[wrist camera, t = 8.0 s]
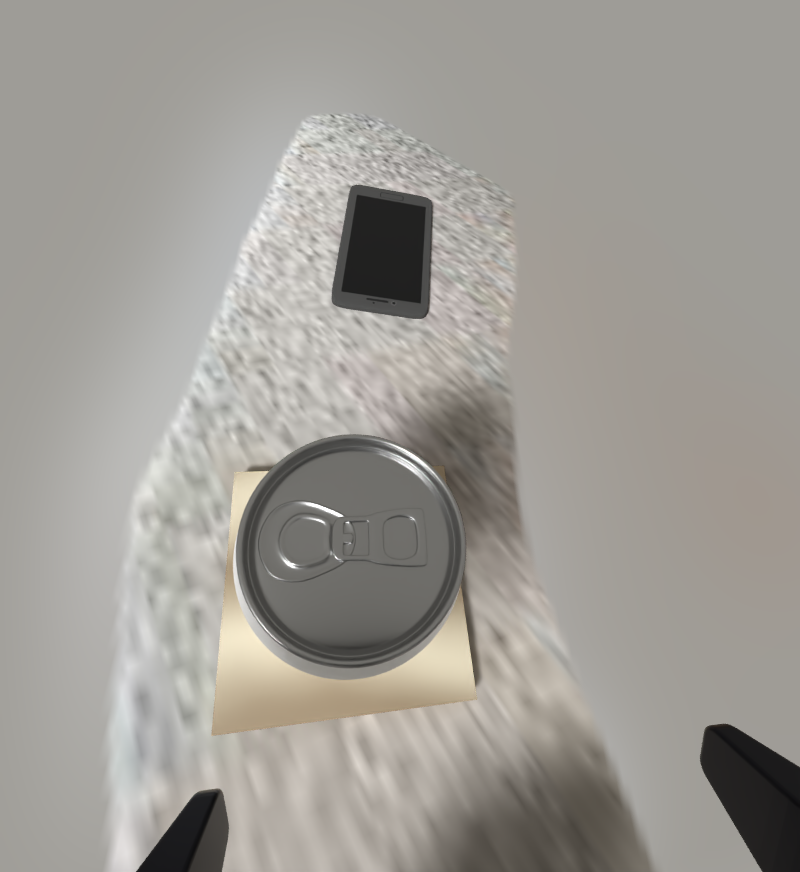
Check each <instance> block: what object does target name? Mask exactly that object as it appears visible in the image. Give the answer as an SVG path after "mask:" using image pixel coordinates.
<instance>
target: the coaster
mask: <svg viewBox="0 0 800 872" xmlns="http://www.w3.org/2000/svg"><path fill="white" fill-rule="evenodd" d="M432 467H433V468H434V469H435V470H436V471H437V472H438V473H439V475H440V476H441V477H442V478H443V480H444V481H445V482H446V475H445V468H444V466H432ZM268 472H269V471H255V472H235V474H234V485H233V497H232V508H231V519H230V531H229V542H228V554H227V565H226V576H225V588H224V599H223V611H222V622H221V633H220V645H219V656H218V668H217V679H216V690H215V702H214V713H213V725H212V736H214V735H221V734H229V733H236V732H243V731H251V730H258V729H265V728H272V727H280V726H287V725H294V724H302V723H309V722H316V721H324V720H331V719H338V718H346V717H353V716H360V715H367V714H375V713H382V712H389V711H397V710H404V709H411V708H419V707H426V706H433V705H441V704H448V703H455V702H462V701H470V700H477V695H476V688H475V681H474V674H473V667H472V660H471V653H470V646H469V639H468V632H467V624H466V617H465V610H464V603H463V596H462V589H461V585H460V589H459V593H458V596H457V599H456V602H455V604H454V607H453V609H452V611H451V613H450V615H449V617H448V619H447V620H446V622H445V624H444V625H443V627H442V628H441V630H440V631H439V632H438V634H437V635H436V636H435V637H434V639H433V640H432V641H431V642H430V643H429V644H428V645H427V646H426V647H425V648H424V649H423V650H422V651H420V652H419V653H418V654H417V655H416V656H414V657H413V658H411V659H410V660H409V661H407V662H405V663H404V664H402V665H400V666H398V667H396V668H394V669H392V670H390V671H388V672H385V673H382V674H379V675H376V676H372V677H368V678H362V679H354V680H336V679H328V678H322V677H318V676H314V675H311V674H308V673H305V672H303V671H300V670H298V669H296V668H294V667H292V666H290V665H289V664H287V663H285V662H284V661H282V660H281V659H279V658H278V657H277V656H276V655H274V654H273V653H272V652H271V651H270V650H269V649H268V648H267V647H266V646H265V645H264V644H263V643H262V642H261V641H260V640H259V638H258V637H257V636H256V635H255V633H254V632H253V630H252V629H251V627H250V625H249V624H248V622H247V620H246V618H245V616H244V614H243V612H242V609H241V607H240V604H239V601H238V597H237V594H236V589H235V584H234V575H233V556H234V547H235V541H236V537H237V533H238V529H239V525H240V521H241V518H242V515H243V512H244V509H245V507H246V505H247V503H248V501H249V499H250V497H251V495H252V493H253V491H254V490H255V488H256V487H257V485H258V484H259V483H260V481H261V480H262V479H263V477H264V476H265V475H266V474H267V473H268ZM446 484H447V482H446Z"/></svg>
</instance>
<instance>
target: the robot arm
mask: <svg viewBox="0 0 800 872" xmlns="http://www.w3.org/2000/svg"><path fill="white" fill-rule="evenodd" d="M700 762H701V766H702V769H703V771H704V774H705V775H706V777H707V779H708V781H709V782H710V784H711V786H712V787H713V789H714V791H715V792H716V794H717V796H718V798H719V799H720V801H721V803H722V804H723V806H724V808H725V809H726V811H727V813H728V814H729V816H730V818H731V820H732V821H733V823H734V825H735V826H736V828H737V830H738V831H739V833H740V835H741V836H742V838H743V840H744V842H745V843H746V845H747V847H748V848H749V850H750V852H751V853H752V855H753V857H754V858H755V860H756V862H757V864H758V865H759V867H760V868H761V870H762V872H800V767H799V766H797V765H795V764H794V763H792V762H790V761H789V760H787V759H786V758H784V757H782V756H781V755H779V754H777V753H776V752H774V751H772V750H771V749H769V748H768V747H766V746H764V745H763V744H761V743H760V742H758V741H756V740H755V739H753V738H752V737H750V736H748V735H747V734H745V733H744V732H742V731H740V730H739V729H737V728H735V727H733V726H731V725H728V724H718V725H710V726H707V727H706V728H705V731H704V736H703V742H702V748H701V754H700ZM228 832H229V823H228V817H227V812H226V806H225V801H224V796H223V792H222V791H221V790H220V789H211V790H203V791H199V792H197V793H196V794H195V795H194V796H193V797H192V798H191V799H190V801H189V802H188V803H187V805H186V806H185V807H184V809H183V810H182V811H181V813H180V814H179V815H178V817H177V818H176V819H175V821H174V822H173V823H172V825H171V826H170V827H169V829H168V830H167V831H166V833H165V834H164V835H163V837H162V838H161V839H160V841H159V842H158V843H157V845H156V846H155V847H154V849H153V850H152V851H151V853H150V854H149V855H148V857H147V858H146V859H145V861H144V862H143V863H142V865H141V866H140V867H139V869H138V870H137V871H136V872H222V867H223V862H224V857H225V851H226V846H227V840H228Z"/></svg>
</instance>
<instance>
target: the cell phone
mask: <svg viewBox="0 0 800 872" xmlns="http://www.w3.org/2000/svg"><path fill="white" fill-rule="evenodd" d="M431 224H432V202H431V200H430V199H428V198H426V197H422V196H417V195H412V194H407V193H401V192H396V191H390V190H385V189H379V188H374V187H368V186H363V185H354V186H352V187H351V190H350V193H349V198H348V203H347V209H346V215H345V220H344V226H343V232H342V237H341V243H340V248H339V254H338V260H337V265H336V271H335V277H334V282H333V288H332V302H333V304H334V305H336V306H338V307H342V308H346V309H353V310H359V311H366V312H373V313H379V314H386V315H392V316H399V317H406V318H413V319H422V318H424V317H426V314H427V311H428V301H429V277H430V250H431Z"/></svg>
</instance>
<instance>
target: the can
mask: <svg viewBox="0 0 800 872" xmlns="http://www.w3.org/2000/svg"><path fill="white" fill-rule="evenodd" d="M465 561H466V537H465V529H464V524H463V520H462V516H461V513H460V510H459V507H458V505H457V502H456V500H455V498H454V496H453V494H452V492H451V490H450V489H449V487H448V485H447V484H446V482H445V481H444V480H443V478H442V477H441V476H440V475H439V473H438V472H437V471H436V470H435V469H434V468H433V467H432V466H431V465H430V464H429V463H428V462H427V461H425V460H424V459H423V458H422V457H420V456H419V455H418V454H416V453H415V452H413V451H411V450H410V449H408V448H406V447H404V446H402V445H400V444H398V443H395V442H393V441H390V440H387V439H383V438H380V437H375V436H369V435H356V434H351V435H339V436H332V437H328V438H324V439H320V440H317V441H314V442H312V443H309V444H307V445H305V446H303V447H301V448H299V449H297V450H295V451H293V452H292V453H290V454H289V455H287V456H286V457H285V458H283V459H282V460H281V461H279V462H278V463H277V464H276V465H275V466H274V467H273V468H272V469H271V470H270V471H269V472H268V473H267V474H266V475H265V476H264V477H263V479H262V480H261V481H260V483H259V484H258V485H257V487H256V488H255V490H254V491H253V493H252V495H251V497H250V499H249V501H248V503H247V505H246V507H245V509H244V512H243V515H242V518H241V521H240V525H239V529H238V533H237V537H236V541H235V547H234V556H233V575H234V584H235V589H236V594H237V597H238V601H239V604H240V607H241V609H242V612H243V614H244V616H245V618H246V620H247V622H248V624H249V625H250V627H251V629H252V630H253V632H254V633H255V635H256V636H257V637H258V638H259V640H260V641H261V642H262V643H263V644H264V645H265V646H266V647H267V648H268V649H269V650H270V651H271V652H272V653H273V654H274V655H276V656H277V657H278V658H279V659H281V660H282V661H284V662H285V663H287V664H289V665H290V666H292V667H294V668H296V669H298V670H300V671H303V672H305V673H308V674H311V675H314V676H318V677H322V678H328V679H336V680H354V679H362V678H368V677H372V676H376V675H379V674H382V673H385V672H388V671H390V670H392V669H394V668H396V667H398V666H400V665H402V664H404V663H405V662H407V661H409V660H410V659H411V658H413V657H414V656H416V655H417V654H418V653H419V652H420V651H422V650H423V649H424V648H425V647H426V646H427V645H428V644H429V643H430V642H431V641H432V640H433V639H434V637H435V636H436V635H437V634H438V632H439V631H440V630H441V628H442V627H443V625H444V624H445V622H446V620H447V619H448V617H449V615H450V613H451V611H452V609H453V607H454V604H455V602H456V599H457V596H458V593H459V589H460V585H461V581H462V578H463V574H464V568H465Z"/></svg>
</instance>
